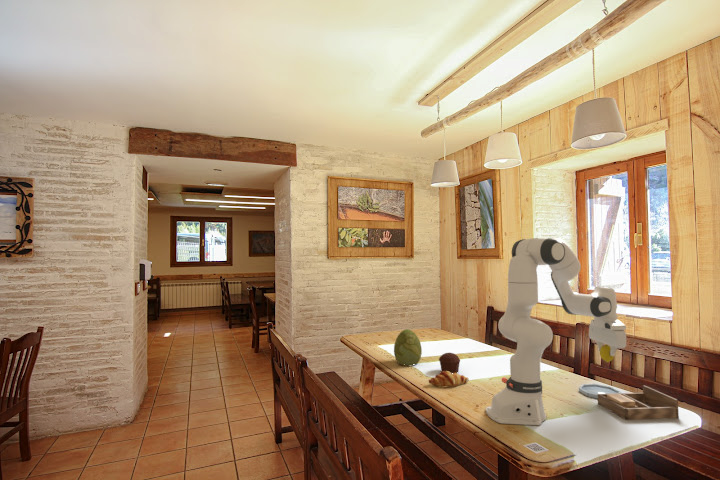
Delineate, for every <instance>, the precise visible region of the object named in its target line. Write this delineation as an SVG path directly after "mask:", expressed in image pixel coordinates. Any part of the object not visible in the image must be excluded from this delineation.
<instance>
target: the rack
mask: <svg viewBox="0 0 720 480" xmlns="http://www.w3.org/2000/svg"><path fill="white" fill-rule="evenodd" d="M613 394H621V395H623V396H625V397H627V398H629V399H631V400H633V401H635V405H636V406H638V408H625V407H623V406H621V405H619V404H618V403H616V402H614V401H612V400H610V399H608V398H607V395H608V394H598V399H597V404H598V405H600V406H602V407H603V408H605V409H607V410H608V411H611V413H614V414H615V415H617V416H618V417H621V418H622V419H624V420H625V421H629V420H631V421H632V420H663V419H662V418H667V419H679V417H680V416H679V400H678V399H677V398H675V397H673V396H670V395H667V394H665V393H664V392H660V391H659V390H657V389H654V388H652V387H650V386H647V385H642V392H621V393H613ZM659 418H660V419H659Z"/></svg>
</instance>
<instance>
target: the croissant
mask: <svg viewBox="0 0 720 480" xmlns="http://www.w3.org/2000/svg"><path fill="white" fill-rule="evenodd" d="M468 382H469V377H467V376H465V375H463V374H462V375H461V374H459V373H453V374H452V373H451V372H449V371H441V372H439V373H438V374H436V375H435V377H432V378H430V379H428V383H429V384H431V385H433V386H436V385H437V386H436V387H439V386H454V387H458V386H461V385H463V384H466V383H468ZM457 385H458V386H457Z"/></svg>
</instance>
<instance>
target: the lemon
mask: <svg viewBox="0 0 720 480" xmlns="http://www.w3.org/2000/svg"><path fill="white" fill-rule="evenodd" d="M609 351H611V348H610V345H607V344H604V345H603V346H602V347H601V348H600V351H599V357H600V358H601V359H602V360H603V361H605V362H606V363H610V362H611V361H613V360H614V359H615V356H610V355H609Z"/></svg>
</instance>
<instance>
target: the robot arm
mask: <svg viewBox="0 0 720 480" xmlns="http://www.w3.org/2000/svg"><path fill="white" fill-rule="evenodd" d="M546 265H548V267H549V268H550V270H551V272H550V278H551V281H552V284H553V286H554V288H555V290H556V292H557V294H558V296H559V298H560V301H561V305H562V309H563V310H564V311H565V313H566V314H568V315H575V316H584V317H592V318H593V319H592V320H591V321H590V324H589V327H588V337H589V339H590V340H593V341H596V344H597V347H598V352H600V348H601V347H602V346H604V345H606V344H607V345H608V346H610V348H611V351H609V355H610V356H614V357H615V356H616V352H617V350H618V349H625V348H626V347H627V333H626V330H627V325H626V324H625V323H623V322H622V321H621V320H619V319H618V314H617V309H618V301H617V294H616V291H615V289H613V288H612V287H608V286H600V285H599V286H595V287H594V289H593V292H591V293H589V294H585V293H579V292H575V291H573V290H572V288H571V286H570V283H569V281H572V280H574V279H575V278H576V277H577V276H578V275H579V273H580V271H581V269H582V266H581V262H580V260H579V259H578V257H577V255H576V254H575V253H574V251H573V250H572V248H571V247H570V246H569V245H568V244H567V243H566V242H565V241H564V240H563V239H561V238H559V237H558V238H557V237H555V238H554V237H553V238H551V237H550V238H549V237H548V238H541V237H540V238H538V237H535V238H534V237H533V238H527V239H525V238H524V239H523V238H522V239H519V240H517V241H516V242H515V243H513V245H512V247H511V258H510V259H509V265H508V272H507V304H506V307H505V312H504V314H503V315H502V316H501V318H499V321H498V324H497V326H498V327H497V328H498V331H499V332H500V334H501V335H503V336H504V337H505V338H506V339H508V340H510V341H512V342H515V343H516V344H517V345H516V349H515V350H516V351H515V353H514V354H513V355H511V356H510V359H509V362H510V363H509V366H510V367H509V369H510V376H509V378H507V377H505V376H503V377H502V378H501V382H502V383H504V384H505V385H506V386H505V387H504V388H502V390H500V391H499V392H497V393H495V394H494V395H493V396H492V399H491V406H490V405H489V406H486V407H485V413H486V415H487V416H488V417H489V418H491V420H493V421H494V422H496V423H499V424H507V425H508V424H510V425H523V426H524V425H525V426H541V425H542V423H543V422H544V421H546V420H547V415H546V412H545V407H544V403H543V396H542V395H543V381H542V379H541V359H542V357H543V354H544V352H545V350H546V348H548V347H549V346H550V345H551V343H552V341H553V339H554V338H553V337H554V334H553V333H554V332H553V330H552V328H551V327H550V325H549V324H546V323H545V322H543V321H542V320H539V319H536V318H533V317H531V314H532V310H533V308H534V306H536V305H537V304H538V302H539V288H538V287H539V286H538V285H539V284H538V272H537V268H538V266H546ZM603 344H604V345H603Z"/></svg>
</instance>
